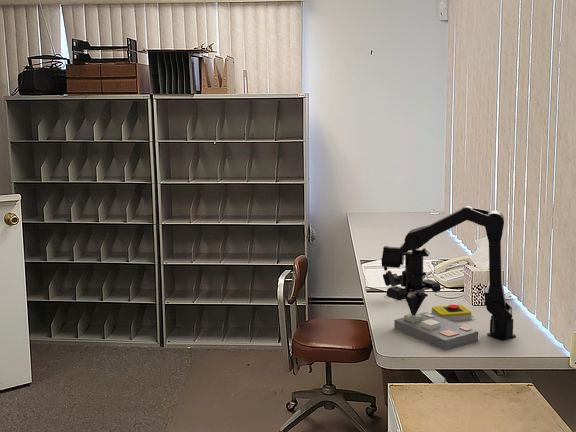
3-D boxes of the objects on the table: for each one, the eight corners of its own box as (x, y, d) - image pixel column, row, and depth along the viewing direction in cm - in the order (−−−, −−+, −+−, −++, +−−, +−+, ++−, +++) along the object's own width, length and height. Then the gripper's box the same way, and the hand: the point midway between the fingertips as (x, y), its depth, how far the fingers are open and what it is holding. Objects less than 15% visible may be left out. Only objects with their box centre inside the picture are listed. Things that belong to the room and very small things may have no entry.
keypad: (478, 340, 207) (478, 330, 206) (445, 349, 199) (445, 339, 199) (425, 320, 226) (426, 311, 226) (394, 328, 219) (394, 318, 218)
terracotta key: (458, 339, 204) (458, 333, 204) (448, 342, 202) (448, 336, 202) (448, 335, 208) (448, 329, 207) (438, 338, 205) (438, 332, 205)
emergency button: (477, 308, 225) (434, 311, 223) (476, 321, 226) (434, 324, 224) (465, 300, 234) (425, 303, 232) (465, 312, 235) (424, 315, 233)
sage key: (422, 321, 217) (422, 315, 217) (412, 324, 215) (412, 318, 215) (413, 318, 221) (413, 312, 221) (404, 320, 219) (404, 314, 218)
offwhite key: (440, 328, 211) (440, 322, 210) (430, 331, 208) (430, 325, 208) (430, 324, 214) (430, 319, 214) (420, 327, 212) (421, 321, 212)
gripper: (418, 259, 226) (418, 303, 229) (375, 267, 217) (375, 313, 220) (442, 266, 217) (441, 312, 220) (398, 275, 208) (397, 322, 210)
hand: (413, 314), depth 218 cm, fingers closed
